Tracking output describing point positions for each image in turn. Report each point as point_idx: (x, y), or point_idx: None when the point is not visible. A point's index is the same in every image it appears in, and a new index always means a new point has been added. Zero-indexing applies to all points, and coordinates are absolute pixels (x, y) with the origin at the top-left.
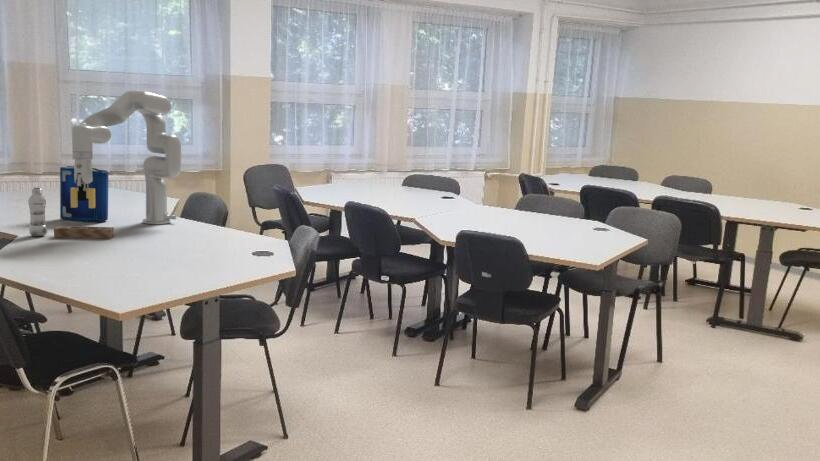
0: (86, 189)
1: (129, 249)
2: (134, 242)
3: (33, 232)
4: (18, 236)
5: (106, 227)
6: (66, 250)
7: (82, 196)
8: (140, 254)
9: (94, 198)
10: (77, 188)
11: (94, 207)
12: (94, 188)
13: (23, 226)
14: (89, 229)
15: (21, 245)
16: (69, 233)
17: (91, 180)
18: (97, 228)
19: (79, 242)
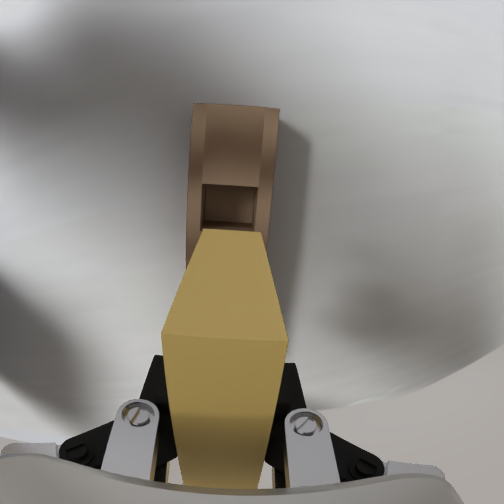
0: (270, 419)
1: (457, 54)
2: (340, 18)
3: None
4: None
5: (203, 140)
6: (463, 253)
7: (298, 381)
8: (501, 43)
9: (233, 263)
10: (257, 484)
11: (239, 231)
12: (178, 343)
13: (83, 426)
14: (268, 221)
15: (372, 386)
16: None
17: (88, 498)
18: (240, 183)
19: (346, 237)
